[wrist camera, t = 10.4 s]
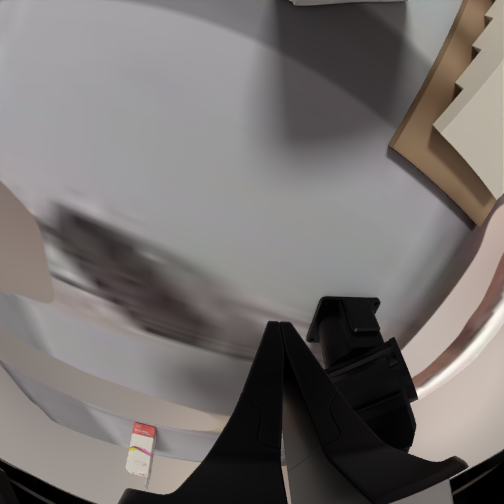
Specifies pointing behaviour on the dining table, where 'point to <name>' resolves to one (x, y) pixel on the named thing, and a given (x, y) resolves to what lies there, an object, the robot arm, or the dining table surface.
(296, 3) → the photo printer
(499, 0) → the domino
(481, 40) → the domino
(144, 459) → the ink cartridge box
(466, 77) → the domino
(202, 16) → the dining table surface
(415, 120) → the walnut board
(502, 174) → the domino
